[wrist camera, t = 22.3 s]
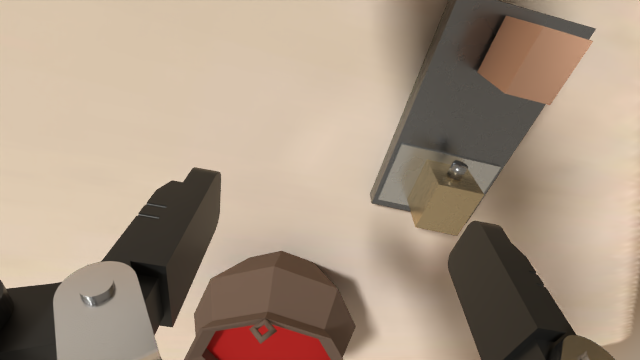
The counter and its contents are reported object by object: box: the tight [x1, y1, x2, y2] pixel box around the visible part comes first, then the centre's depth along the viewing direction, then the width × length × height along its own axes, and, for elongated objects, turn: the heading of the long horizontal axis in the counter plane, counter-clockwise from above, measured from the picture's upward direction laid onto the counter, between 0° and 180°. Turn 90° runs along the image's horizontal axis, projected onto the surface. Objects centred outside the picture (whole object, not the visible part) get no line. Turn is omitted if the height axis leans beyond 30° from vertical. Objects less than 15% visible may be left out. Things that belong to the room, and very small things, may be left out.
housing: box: [407, 159, 484, 236], centre depth 36 cm, size 8×5×5 cm, turn 167°
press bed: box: [370, 0, 596, 223], centre depth 35 cm, size 24×13×2 cm, turn 167°
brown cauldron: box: [184, 251, 356, 360], centre depth 46 cm, size 24×24×16 cm
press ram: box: [477, 16, 593, 105], centre depth 27 cm, size 5×4×6 cm
